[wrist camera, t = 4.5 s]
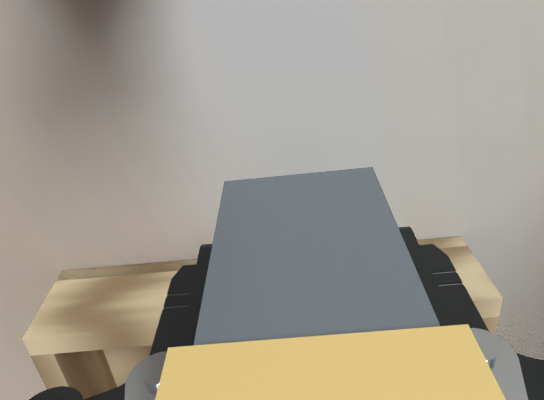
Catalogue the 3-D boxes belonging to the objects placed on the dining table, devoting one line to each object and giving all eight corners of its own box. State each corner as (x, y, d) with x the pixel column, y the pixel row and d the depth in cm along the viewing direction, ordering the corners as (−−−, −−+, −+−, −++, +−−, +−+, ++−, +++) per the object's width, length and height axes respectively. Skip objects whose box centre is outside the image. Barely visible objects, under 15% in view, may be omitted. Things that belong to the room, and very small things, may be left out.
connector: (383, 155, 12) (534, 454, 5) (381, 288, 14) (483, 617, 7) (211, 172, 12) (134, 480, 5) (236, 300, 15) (205, 630, 8)
